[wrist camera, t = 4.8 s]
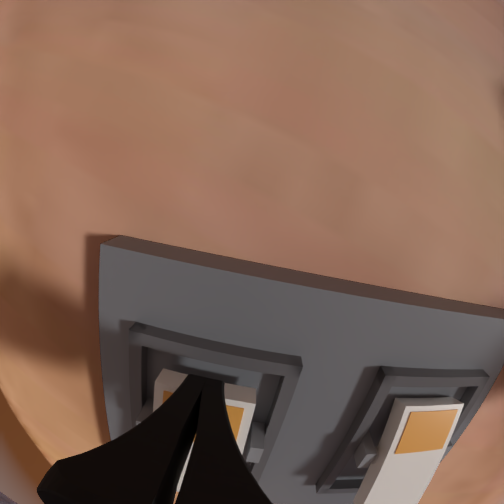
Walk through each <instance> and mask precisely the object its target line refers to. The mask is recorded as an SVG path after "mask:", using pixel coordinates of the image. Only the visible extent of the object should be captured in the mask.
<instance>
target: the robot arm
mask: <svg viewBox="0 0 504 504" xmlns="http://www.w3.org/2000/svg"><path fill="white" fill-rule="evenodd" d="M224 385H225V383H224V382H223V381H221V380H216V379H211V378H207V377H202V376H198V375H193V374H189V375H187V377H186V378H185V380H184V381H183V382H182V383H181V385H180V386H179V387H178V388H177V389H176V391H175V392H174V393H173V394H172V395H171V396H170V397H169V398H168V399H167V400H166V401H165V402H164V403H163V404H162V405H161V406H160V407H159V408H158V409H156V410H155V411H154V412H153V413H152V414H151V415H149V416H148V417H147V418H146V419H144V420H143V421H142V422H141V423H139V424H138V425H136V426H135V427H133V428H132V429H130V430H129V431H127V432H126V433H124V434H122V435H121V436H119V437H117V438H115V439H114V440H112V441H110V442H108V443H106V444H104V445H101V446H99V447H97V448H94V449H92V450H90V451H87V452H84V453H82V454H78V455H75V456H72V457H68V458H65V459H61V460H58V461H56V462H55V464H54V465H53V466H52V467H51V468H50V469H49V471H48V472H47V473H46V474H45V476H44V478H43V479H42V481H41V483H40V484H39V486H38V487H37V493H38V495H39V497H40V498H41V500H42V501H43V502H44V504H173V502H174V498H175V494H176V489H177V485H178V482H179V479H180V476H181V473H182V471H183V468H184V465H185V462H186V460H187V457H188V454H189V452H190V449H191V446H192V443H193V441H194V443H193V447H192V451H191V454H190V457H189V461H188V464H187V468H186V471H185V474H184V478H183V481H182V484H181V487H180V490H179V494H178V497H177V500H176V503H175V504H273V503H272V502H271V501H270V499H269V498H268V497H267V495H266V494H265V493H264V492H263V490H262V489H261V487H260V486H259V484H258V483H257V481H256V479H255V478H254V476H253V475H252V473H251V471H250V470H249V468H248V466H247V464H246V462H245V460H244V458H243V456H242V454H241V452H240V450H239V447H238V445H237V442H236V440H235V437H234V434H233V431H232V428H231V425H230V421H229V417H228V413H227V408H226V402H225V395H224ZM195 435H196V436H195ZM194 438H195V440H194ZM0 504H17V503H16V502H14V501H13V500H11V499H10V498H8V497H7V496H6V495H4V494H3V493H1V492H0Z"/></svg>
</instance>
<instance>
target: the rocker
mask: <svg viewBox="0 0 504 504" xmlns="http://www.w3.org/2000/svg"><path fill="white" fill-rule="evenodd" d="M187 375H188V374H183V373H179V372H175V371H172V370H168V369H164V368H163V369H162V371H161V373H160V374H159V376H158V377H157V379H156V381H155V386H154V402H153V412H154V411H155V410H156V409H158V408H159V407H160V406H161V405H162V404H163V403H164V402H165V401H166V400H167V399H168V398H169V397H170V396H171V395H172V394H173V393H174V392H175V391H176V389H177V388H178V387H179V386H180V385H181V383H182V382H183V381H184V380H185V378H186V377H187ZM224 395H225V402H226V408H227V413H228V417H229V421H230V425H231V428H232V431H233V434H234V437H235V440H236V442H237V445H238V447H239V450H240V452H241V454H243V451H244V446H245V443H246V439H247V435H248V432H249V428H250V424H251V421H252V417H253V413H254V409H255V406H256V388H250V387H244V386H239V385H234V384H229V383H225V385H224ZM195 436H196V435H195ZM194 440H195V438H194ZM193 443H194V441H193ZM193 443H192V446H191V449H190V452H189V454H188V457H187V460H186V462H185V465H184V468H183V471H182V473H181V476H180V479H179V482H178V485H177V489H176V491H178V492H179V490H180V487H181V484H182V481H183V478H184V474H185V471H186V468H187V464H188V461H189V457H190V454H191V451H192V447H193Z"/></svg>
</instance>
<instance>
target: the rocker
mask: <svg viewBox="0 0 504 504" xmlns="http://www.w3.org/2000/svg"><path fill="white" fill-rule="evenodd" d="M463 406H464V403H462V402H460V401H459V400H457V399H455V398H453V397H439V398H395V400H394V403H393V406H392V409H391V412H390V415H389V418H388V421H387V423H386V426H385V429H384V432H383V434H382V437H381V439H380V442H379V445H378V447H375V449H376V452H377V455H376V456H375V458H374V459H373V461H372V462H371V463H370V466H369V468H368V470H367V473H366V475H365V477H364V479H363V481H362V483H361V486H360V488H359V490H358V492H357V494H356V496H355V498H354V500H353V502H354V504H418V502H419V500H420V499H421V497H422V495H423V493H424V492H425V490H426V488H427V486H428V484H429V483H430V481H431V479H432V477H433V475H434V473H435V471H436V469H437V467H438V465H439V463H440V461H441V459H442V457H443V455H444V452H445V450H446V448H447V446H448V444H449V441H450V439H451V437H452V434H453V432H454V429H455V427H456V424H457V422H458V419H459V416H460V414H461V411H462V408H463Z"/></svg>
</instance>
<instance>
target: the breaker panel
mask: <svg viewBox="0 0 504 504" xmlns="http://www.w3.org/2000/svg"><path fill="white" fill-rule="evenodd" d="M99 335H100V354H101V367H102V379H103V388H104V397H105V405H106V413H107V419H108V426H109V432H110V438H111V441H112V440H114V439H115V438H117V437H119V436H121V435H122V434H124V433H126V432H127V431H129V430H130V429H132V428H133V427H135V426H136V425H138V424H139V423H141V422H142V421H143V420H144V419H146V418H147V417H148V416H149V415H151V414H152V413H153V402H154V386H155V381H156V379H157V377H158V376H159V374H160V373H161V371H162V369H163V368H164V369H168V370H172V371H175V372H179V373H183V374H188V375H189V374H193V375H198V376H202V377H207V378H211V379H216V380H221V381H223V382H224V383H229V384H234V385H239V386H244V387H250V388H256V406H255V409H254V413H253V417H252V421H251V424H250V428H249V432H248V435H247V439H246V443H245V446H244V451H243V454H242V456H243V458H244V460H245V462H246V464H247V466H248V468H249V470H250V471H251V473H252V475H253V476H254V478H255V479H256V481H257V483H258V484H259V486H260V487H261V489H262V490H263V492H264V493H265V494H266V495H267V497H268V498H269V499H270V501H271V502H272V503H273V504H354V502H353V500H354V498H355V496H356V494H357V492H358V490H359V488H360V486H361V483H362V481H363V479H364V477H365V475H366V473H367V470H368V468H369V466H370V463H371V462H372V461H373V459H374V458H375V456H376V455H377V452H376V449H375V447H378V445H379V442H380V439H381V437H382V434H383V432H384V429H385V426H386V423H387V421H388V418H389V415H390V412H391V409H392V406H393V403H394V400H395V398H439V397H453V398H455V399H457V400H459V401H460V402H462V403H464V406H463V408H462V411H461V414H460V416H459V419H458V422H457V424H456V427H455V429H454V432H453V434H452V437H451V439H450V441H449V444H448V446H447V448H446V450H445V452H444V455H443V457H442V459H443V458H444V457H445V456H446V455H447V453H448V452H449V451H450V449H451V448H452V447H453V445H454V444H455V443H456V441H457V440H458V439H459V437H460V436H461V434H462V433H463V432H464V430H465V429H466V427H467V426H468V424H469V423H470V421H471V420H472V418H473V417H474V415H475V414H476V412H477V411H478V409H479V408H480V406H481V404H482V403H483V401H484V399H485V398H486V396H487V394H488V393H489V391H490V389H491V387H492V386H493V384H494V382H495V380H496V378H497V377H498V375H499V373H500V371H501V369H502V367H503V365H504V309H501V308H495V307H489V306H484V305H478V304H472V303H467V302H461V301H456V300H450V299H445V298H439V297H434V296H428V295H423V294H417V293H412V292H406V291H401V290H396V289H390V288H385V287H380V286H374V285H369V284H364V283H358V282H353V281H348V280H343V279H337V278H332V277H327V276H322V275H317V274H311V273H306V272H301V271H296V270H291V269H286V268H281V267H276V266H270V265H265V264H260V263H255V262H250V261H245V260H240V259H235V258H230V257H225V256H220V255H215V254H210V253H205V252H200V251H195V250H191V249H186V248H181V247H176V246H171V245H166V244H161V243H156V242H152V241H147V240H142V239H137V238H132V237H127V236H123V235H120V236H118V237H115V238H113V239H111V240H108V241H106V242H103V243H101V244H100V263H99ZM442 459H441V461H442ZM441 461H440V462H441Z"/></svg>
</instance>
